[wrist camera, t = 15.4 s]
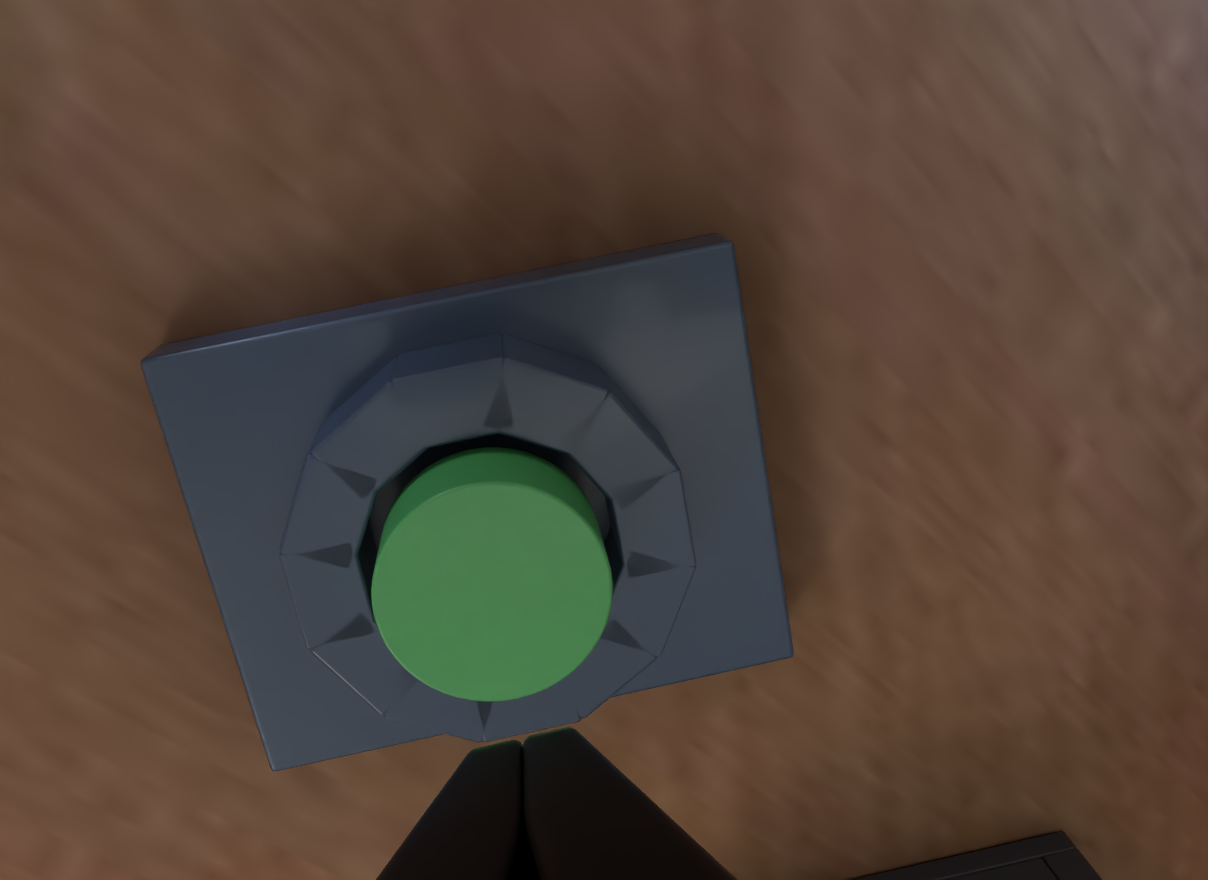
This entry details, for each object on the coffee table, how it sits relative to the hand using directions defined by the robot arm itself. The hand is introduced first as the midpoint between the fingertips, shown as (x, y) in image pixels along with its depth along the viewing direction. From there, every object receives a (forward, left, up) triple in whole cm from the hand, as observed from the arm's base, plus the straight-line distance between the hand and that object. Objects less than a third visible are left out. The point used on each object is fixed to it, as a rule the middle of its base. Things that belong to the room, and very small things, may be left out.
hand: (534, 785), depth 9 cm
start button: (+1, +2, -9) cm, 10 cm away
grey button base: (+1, +2, -12) cm, 12 cm away
